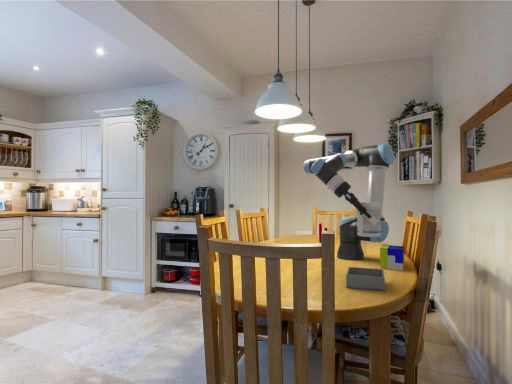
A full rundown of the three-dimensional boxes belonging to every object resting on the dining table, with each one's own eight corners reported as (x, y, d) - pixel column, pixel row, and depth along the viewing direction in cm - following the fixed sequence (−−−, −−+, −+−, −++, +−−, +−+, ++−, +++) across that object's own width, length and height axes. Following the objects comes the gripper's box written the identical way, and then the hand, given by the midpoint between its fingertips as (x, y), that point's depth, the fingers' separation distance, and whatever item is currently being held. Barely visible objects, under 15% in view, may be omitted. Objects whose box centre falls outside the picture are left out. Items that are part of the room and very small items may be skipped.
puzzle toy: (402, 270, 143) (402, 249, 143) (380, 268, 148) (380, 247, 148) (404, 266, 152) (403, 246, 152) (382, 264, 156) (382, 244, 157)
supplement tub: (385, 236, 130) (385, 202, 130) (371, 237, 125) (371, 202, 125) (366, 234, 138) (366, 202, 138) (352, 235, 133) (352, 202, 133)
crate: (348, 278, 129) (348, 266, 129) (383, 281, 124) (383, 269, 124) (346, 287, 116) (346, 274, 116) (384, 291, 111) (384, 277, 112)
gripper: (335, 192, 148) (370, 226, 142) (329, 191, 127) (369, 230, 121) (347, 181, 146) (382, 215, 140) (342, 178, 126) (383, 218, 119)
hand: (376, 222), depth 130 cm, fingers closed on supplement tub, 9 cm apart
